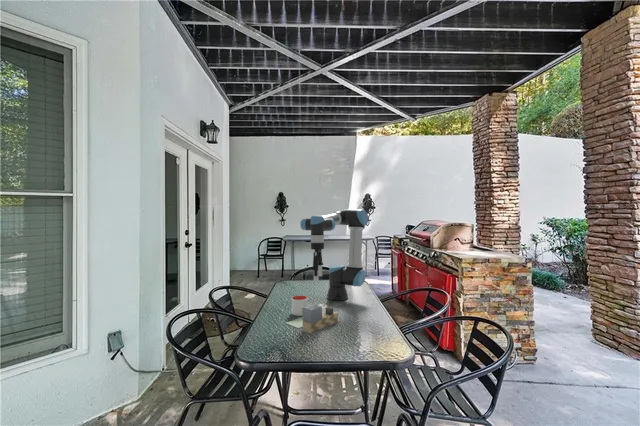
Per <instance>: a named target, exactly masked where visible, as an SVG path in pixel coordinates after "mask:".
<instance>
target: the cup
mask: <svg viewBox="0 0 640 426" xmlns="http://www.w3.org/2000/svg"><path fill="white" fill-rule="evenodd" d="M290 301H291V314H292V315H293V316H295V317H302V307H304V306H307V305H309V304H308V303H309V299H308V297H307V296H306V295H294V296H292V297H291V300H290Z"/></svg>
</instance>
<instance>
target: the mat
mask: <svg viewBox="0 0 640 426" xmlns="http://www.w3.org/2000/svg"><path fill="white" fill-rule="evenodd" d="M285 324H286V325H288V326H291V327H294V328H296V329H298V330H299V329H301V328H302V329H303V320H302V316H300V317H298V318H296V319H293V320H290V321H287V322H285Z"/></svg>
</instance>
